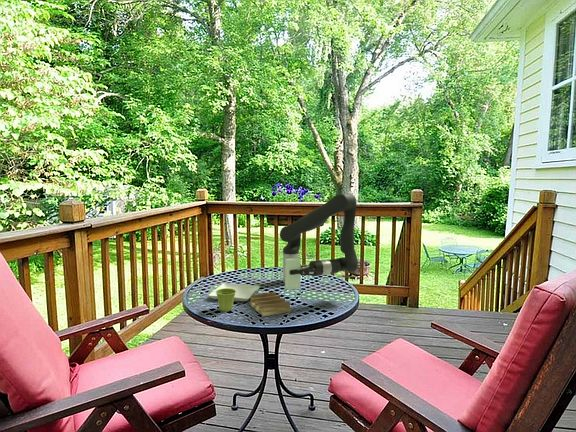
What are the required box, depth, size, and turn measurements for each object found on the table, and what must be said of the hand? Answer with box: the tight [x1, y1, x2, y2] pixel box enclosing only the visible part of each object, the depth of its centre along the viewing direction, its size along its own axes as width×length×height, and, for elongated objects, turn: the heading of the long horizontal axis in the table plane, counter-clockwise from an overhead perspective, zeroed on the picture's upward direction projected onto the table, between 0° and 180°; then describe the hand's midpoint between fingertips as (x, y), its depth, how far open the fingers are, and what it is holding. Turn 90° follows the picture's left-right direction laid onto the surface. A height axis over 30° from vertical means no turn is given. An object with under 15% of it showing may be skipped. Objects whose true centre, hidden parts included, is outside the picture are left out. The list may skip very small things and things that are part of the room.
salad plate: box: [208, 282, 260, 302], centre depth 196 cm, size 21×21×3 cm
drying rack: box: [249, 291, 292, 317], centre depth 179 cm, size 17×14×4 cm
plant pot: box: [216, 288, 236, 312], centre depth 176 cm, size 9×9×9 cm
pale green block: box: [284, 257, 302, 291], centre depth 178 cm, size 3×6×14 cm, turn 117°
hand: (288, 271), depth 176 cm, fingers closed on pale green block, 2 cm apart
